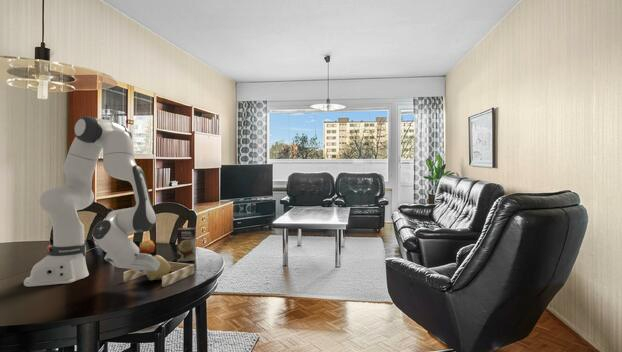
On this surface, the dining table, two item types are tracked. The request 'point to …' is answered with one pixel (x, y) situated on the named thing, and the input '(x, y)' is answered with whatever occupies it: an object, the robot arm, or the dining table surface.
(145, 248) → the fruit
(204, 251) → the dining table surface
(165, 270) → the yellow animal toy
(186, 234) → the coffee box
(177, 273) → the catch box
